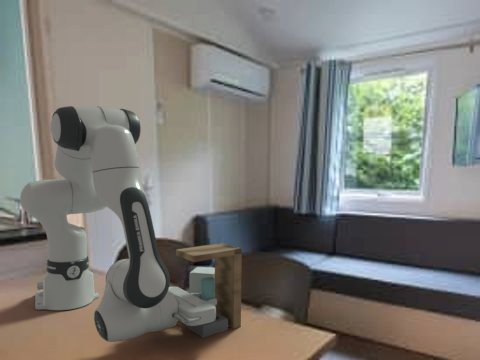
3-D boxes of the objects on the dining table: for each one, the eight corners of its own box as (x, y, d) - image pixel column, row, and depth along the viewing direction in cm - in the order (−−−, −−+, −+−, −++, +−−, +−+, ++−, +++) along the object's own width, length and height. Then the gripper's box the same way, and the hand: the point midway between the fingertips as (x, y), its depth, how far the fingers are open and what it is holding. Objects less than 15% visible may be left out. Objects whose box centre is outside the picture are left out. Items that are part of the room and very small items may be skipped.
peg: (197, 322, 103) (198, 278, 103) (209, 319, 106) (209, 276, 105) (205, 326, 100) (205, 281, 100) (216, 323, 103) (217, 279, 102)
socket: (186, 327, 104) (186, 316, 104) (211, 320, 109) (211, 309, 109) (202, 337, 97) (202, 326, 97) (228, 329, 103) (228, 318, 102)
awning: (175, 329, 102) (176, 249, 101) (221, 316, 112) (222, 242, 111) (193, 341, 95) (194, 256, 94) (240, 326, 105) (241, 248, 104)
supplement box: (212, 317, 111) (213, 274, 110) (188, 315, 112) (188, 272, 112) (219, 308, 118) (219, 267, 117) (196, 306, 119) (196, 265, 119)
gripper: (185, 310, 86) (233, 297, 95) (146, 287, 102) (190, 277, 111) (185, 337, 87) (233, 322, 95) (146, 310, 103) (190, 299, 111)
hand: (210, 298), depth 103 cm, fingers closed on peg, 3 cm apart
